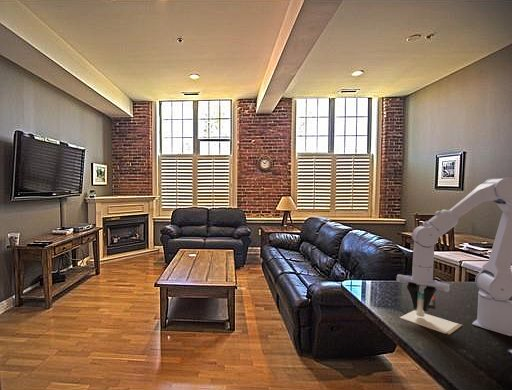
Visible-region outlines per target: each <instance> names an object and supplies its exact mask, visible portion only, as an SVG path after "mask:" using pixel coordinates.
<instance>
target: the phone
mask: <svg viewBox="0 0 512 390" xmlns="http://www.w3.org/2000/svg"><path fill="white" fill-rule="evenodd" d="M435 301H436V300H435V295H433V296H432V298H431V301H430V303H429V306H428V309H429V308H430V309H436V303H435Z"/></svg>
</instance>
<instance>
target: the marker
mask: <svg viewBox="0 0 512 390" xmlns="http://www.w3.org/2000/svg"><path fill="white" fill-rule="evenodd" d="M416 311H417V312H416V315H417V316H420V317H424V313H425V312H426V311H424V291H419V292H417V308H416Z"/></svg>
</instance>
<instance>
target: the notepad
mask: <svg viewBox="0 0 512 390" xmlns="http://www.w3.org/2000/svg"><path fill="white" fill-rule="evenodd" d="M416 312H417V310H416V309H414V310H411V311H409V312H408V313H406V314H404V315H402V316H399V319H401V320H403V321H407V322H410V323H413V324H416V325H419V326H420V327H421V326H422V327H425V328H428V329H430V330H434V331H437V332H439V333H442V334H446V335H448V336H450V335H452V334H453V333H454V332H456V331H458V330H459V329H460V328H462V327H463V324H460V323H457V322H453V321H450V320H447V319H444V318H442V317H438V316H434V315H433V314H432V315H431V314H428V313H425V312H424V317H420V316H417V315H416Z"/></svg>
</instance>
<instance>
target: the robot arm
mask: <svg viewBox="0 0 512 390" xmlns="http://www.w3.org/2000/svg"><path fill="white" fill-rule="evenodd" d="M484 202H486V203H487V202H493V203H495V204H496V206H498V207H499V209H500V210H501V212H502V214H501V217H500V220H499V223H498V228H497V231H496V234H495V237H494V240H493V245H492V248H491V251H490V254H489V257H488V261H486V263H485V264H483V265H482V267H481V270H480V271H479V272H478V273H477V274H476V275H475V280H474V282H475V284H476V286H477V288H478V289H479V290H478V296H477V299H478V300H477V313H476V314H477V316H476V319H475V320H473V322H472V323H471V325H472V326H475V327H480V328H483V329H485V330H489V331H493V332H495V333H499V334H502V335H505V336H509V337H512V300H510V298H512V269H511V267H512V177H503V178H502V177H501V178H494V177H493V178H488V179H487V180H485V181H484V182H483V183H481V184H479V185H477V186H475V188H474V189H473V190H472V191H470V192H469V193H468V194H467V195H466V196H465V197H463V198H462V199H461V200H460V201H458V202H457V203H456V204H455V205H454V206H452V207H451V208H450V209H441V210H437V211H435V212H434V214H435V215H434V216H432V217H431V218H430V219H428V220H427V221H423V222H422V225H419V226H417V227H415V228H414V229H413V231H412V233H411V240H412V241H413V249H412V251H413V252H412V265H411V266H412V271H411V272H412V273H411V275H406V274H405V275H404V274H400V273H399V274H397V275H396V282H397V283H398V282H399V283H401V282H402V283H406V284H407V285H406V288H407V291H408V293H409V295H410V297H411V301H412V305H413V309H414V310H417V292H420V286H421V287H424V288H423V292H424V311H425V312H427V311H428V310H429V308H428V306H429V303H430V301H431V298H432V296H433V295H434V294H435V293H436V291H437V290H439V291H443V292H446V293H449V291H450V287H451V285H450V284H449V283H445V282H441V281H438V280H434V264H435V263H434V262H435V261H434V259H435V245H436V244H437V243H439V238H441V237H443V235H445V234H446V233H448V232H449V231H451V230H452V229H453V228H454V227H455V226H457V225H458V224H459V223H458V222H459V218H461V217H462V216H464V215H465V214H466V213H468V212H469V211H472V210H473V209H475V208H476V207H477V206H479V205H480V204H481V203H484ZM434 296H435V295H434Z"/></svg>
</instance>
